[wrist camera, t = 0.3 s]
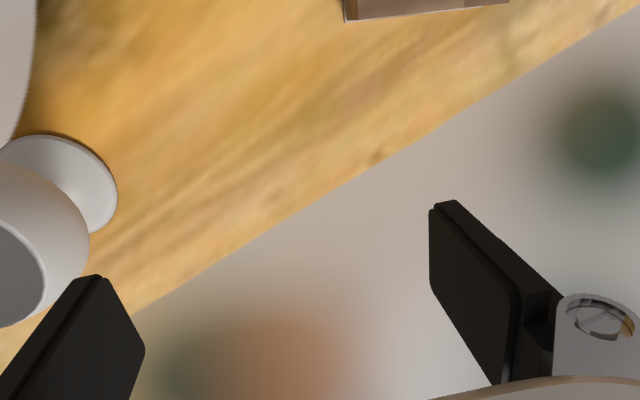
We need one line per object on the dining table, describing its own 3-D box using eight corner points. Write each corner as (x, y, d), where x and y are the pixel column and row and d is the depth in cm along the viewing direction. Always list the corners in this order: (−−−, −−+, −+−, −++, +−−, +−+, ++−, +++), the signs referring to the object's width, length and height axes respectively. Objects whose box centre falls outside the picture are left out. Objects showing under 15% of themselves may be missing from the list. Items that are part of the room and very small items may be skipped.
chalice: (35, 255, 42) (-71, 363, 29) (-50, 146, 35) (-239, 219, 22) (150, 222, 42) (97, 313, 29) (85, 107, 36) (-21, 157, 22)
